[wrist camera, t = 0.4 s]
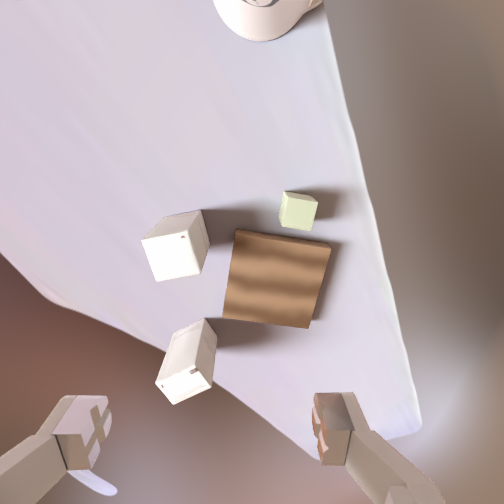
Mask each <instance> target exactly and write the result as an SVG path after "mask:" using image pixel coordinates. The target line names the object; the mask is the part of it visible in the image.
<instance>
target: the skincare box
mask: <svg viewBox="0 0 504 504" xmlns="http://www.w3.org/2000/svg"><path fill="white" fill-rule="evenodd" d="M217 338H218V337H217V335H216V334H215V332H214V331H213V329H212V328H211V326H210V325H209V323H208V322H207V321H206V319H205V318H203V319H201V320H199V321H197V322H195V323H193V324H191V325H189V326H187V327H184V328H182V329H181V330H179V331H176V332H174V333H173V336H172V339H171V342H170V344H169V347H168V350H167V353H166V355H165V358H164V361H163V364H162V366H161V369H160V372H159V375H158V377H157V380H156V382H155V383H156V385H157V386H158V387H159V388H160V389H161V391H162V392H163V393H164V394H165V395H166V396H167V398H168V399H169V400H170V402H171V403H172V404H173V405H174V404H176V403H178V402H180V401H182V400H185V399H187V398H189V397H191V396H194V395H196V394H198V393H200V392H202V391H204V390H207V389H209V388H211V386H212V378H213V370H214V362H215V354H216V346H217Z"/></svg>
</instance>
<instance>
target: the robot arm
mask: <svg viewBox="0 0 504 504" xmlns="http://www.w3.org/2000/svg"><path fill="white" fill-rule="evenodd" d="M213 1H214V4H215V6H216V8H217V11H218V13H219V14H220V16H221V18H222V19H223V21H224V22H225V23H226V24H227V26H228V27H229V28H230V29H231V30H233V31H234V32H235V33H237V34H238V35H240V36H241V37H244V38H246V39H249V40H253V41H269V40H273V39H275V38H278V37H280V36H282V35H283V34H285V33H286V32H288V31H289V30H290V29H291V28H292V27H293V26H294V25H295V24H296V23H297V21H298V20H299V19H300V18H301V16H302V15H303V14H304V13H306V12H307V11H309V10H311V9H313V8H315V7H317V6H318V5H320V4H321V3H322V2H323V0H213ZM107 404H108V399H107V396H88V395H87V396H86V395H85V396H84V395H78V396H77V395H72V396H71V395H69V396H68V395H66V396H64V397H63V398H61V400H60V401H59V403H58V404H57V405H56V407H55V408H54V410H53V411H52V412H51V414H50V415H49V417H48V418H47V420H46V421H45V422H44V424H43V425H42V426H41V428H40V429H39V431H38V432H37V433H36V435H32V436H30V437H28V438H27V439H25V440H24V441H22V442H21V443H20V444H18V445H17V446H15V447H14V448H12V449H11V450H9V451H8V452H7V453H5V454H4V455H2V456H1V457H0V504H36V502H38V501H39V500H40V498H42V497H43V496H44V495H45V494H46V493H47V492H48V491H49V490H50V489H51V488H52V487H53V486H54V485H55V484H56V483H57V482H58V481H59V480H60V479H61V478H62V477H63V476H64V475H65V474H66V473H67V470H86V469H92V467H93V465H94V463H95V461H96V459H97V457H98V455H99V452H100V447H99V444H100V443H101V442H102V441H103V440H104V439H106V437H107V435H108V433H109V430H110V426H111V411H110V410H109V409H107V408H106V406H107ZM314 404H315V406H314V407H313V408H312V424H313V430H314V435H315V436H316V437H317V438H318V446H317V448H318V452H319V456H320V460H321V464H322V465H336V466H338V465H339V466H345V468H346V469H347V470H348V472H349V473H350V474H351V475H352V477H353V478H354V479H355V480H356V482H357V483H358V484H359V485H360V487H361V488H362V489H363V490H364V492H365V493H366V494H367V496H368V497H369V498H370V499H371V501H372V502H373V503H374V504H446V502H445V501H444V499H443V497H442V495H441V493H440V491H439V490H438V488H437V486H436V484H435V483H433V482H432V481H431V480H430V479H429V478H428V477H427V476H426V475H424V474H423V473H422V472H421V471H420V470H419V469H418V468H416V467H415V466H414V465H413V464H412V463H410V462H409V461H408V460H407V459H406V458H405V457H404V456H403V455H402V454H400V453H399V452H398V451H397V450H396V449H395V448H394V447H392V446H391V445H390V444H389V443H388V442H387V441H386V440H384V439H383V438H382V437H381V436H380V435H379V434H378V433H376V432H375V431H370V428H369V426H368V424H367V421H366V419H365V417H364V414H363V412H362V410H361V408H360V405H359V403H358V401H357V398H356V396H355V394H354V393H353V392H347V393H339V392H337V393H315V394H314Z"/></svg>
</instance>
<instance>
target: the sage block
mask: <svg viewBox="0 0 504 504" xmlns="http://www.w3.org/2000/svg"><path fill="white" fill-rule="evenodd" d="M317 205H318V202H317V201H316V200H315V199H314V198H313V197H312V196H310V195H304V194H298V193H292V192H287V191H284V193H283V197H282V202H281V207H280V212H279V216H278V218H279V220H280V223H281V225H282V227H288V228H294V229H300V230H307V231H311V228H312V225H313V221H314V217H315V213H316V209H317Z"/></svg>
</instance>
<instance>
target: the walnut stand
mask: <svg viewBox="0 0 504 504" xmlns="http://www.w3.org/2000/svg"><path fill="white" fill-rule="evenodd" d="M330 253H331V247H330V246H329V245H328V244H327V243H322V242H315V241H309V240H303V239H296V238H290V237H284V236H277V235H271V234H265V233H258V232H252V231H245V230H239V229H236V232H235V238H234V244H233V251H232V257H231V263H230V270H229V276H228V282H227V289H226V295H225V301H224V308H223V315H222V318H230V319H237V320H245V321H253V322H260V323H268V324H275V325H283V326H291V327H298V328H306V329H308V328H309V325H310V321H311V318H312V315H313V311H314V308H315V304H316V301H317V297H318V294H319V291H320V287H321V284H322V280H323V277H324V273H325V270H326V266H327V263H328V260H329V256H330Z"/></svg>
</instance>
